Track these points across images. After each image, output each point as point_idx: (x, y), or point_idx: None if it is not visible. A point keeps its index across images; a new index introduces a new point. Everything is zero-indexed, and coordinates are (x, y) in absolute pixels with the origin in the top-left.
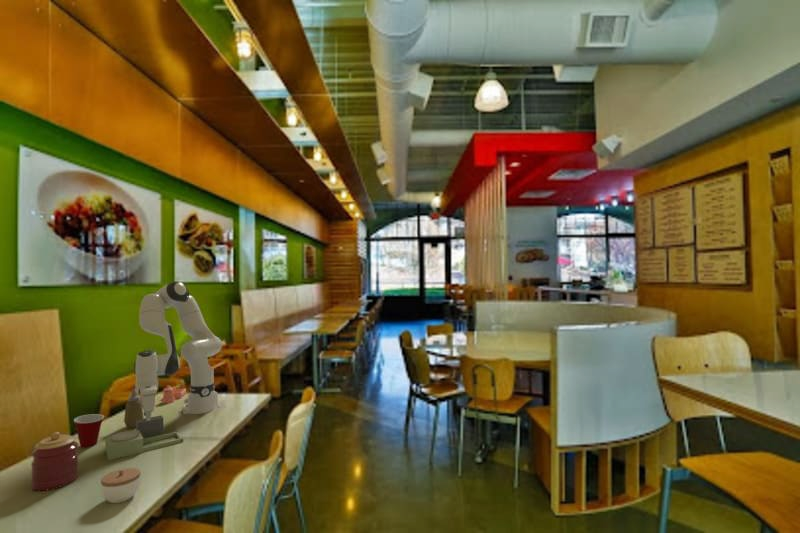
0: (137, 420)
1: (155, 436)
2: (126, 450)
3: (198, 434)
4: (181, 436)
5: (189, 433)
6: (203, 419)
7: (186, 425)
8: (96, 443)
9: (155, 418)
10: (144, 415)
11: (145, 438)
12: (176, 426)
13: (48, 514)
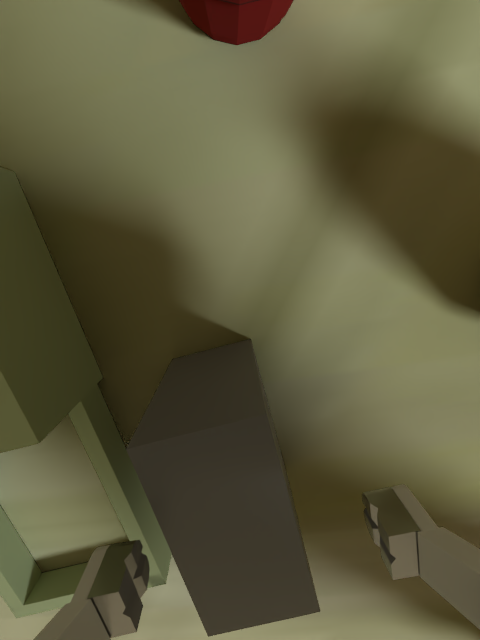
0: (240, 429)
1: (113, 483)
2: None
3: (153, 630)
4: (58, 607)
5: (189, 595)
6: (404, 632)
7: (345, 572)
8: (229, 40)
9: (228, 581)
10: (362, 494)
11: (92, 430)
12: (358, 530)
13: None
